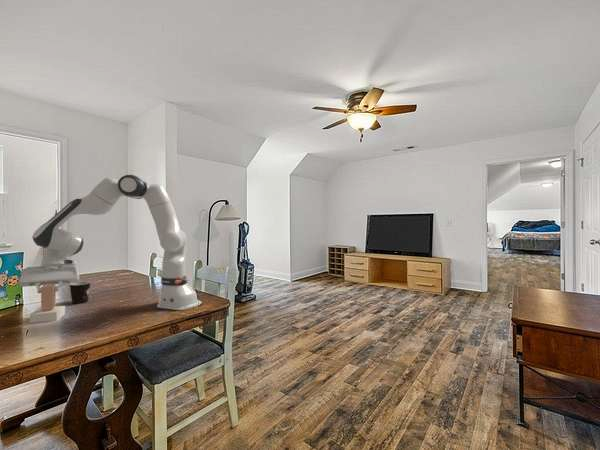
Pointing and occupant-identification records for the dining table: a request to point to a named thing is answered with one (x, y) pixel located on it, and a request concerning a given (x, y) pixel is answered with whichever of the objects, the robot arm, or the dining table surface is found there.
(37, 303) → the dining table surface
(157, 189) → the robot arm
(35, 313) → the cream block
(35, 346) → the dining table surface
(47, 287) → the tan rectangular block
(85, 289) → the coffee mug
